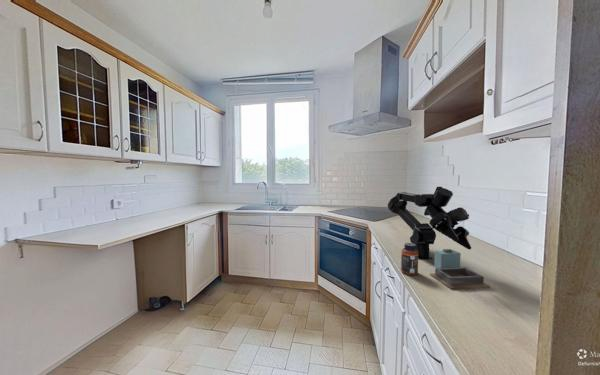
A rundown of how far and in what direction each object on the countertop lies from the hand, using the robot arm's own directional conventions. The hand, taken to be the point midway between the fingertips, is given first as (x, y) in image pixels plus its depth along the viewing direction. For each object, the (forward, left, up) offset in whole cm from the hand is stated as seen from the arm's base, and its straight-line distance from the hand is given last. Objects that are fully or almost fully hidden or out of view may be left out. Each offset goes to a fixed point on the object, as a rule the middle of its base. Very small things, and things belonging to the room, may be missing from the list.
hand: (464, 245), depth 85 cm
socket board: (+1, -3, -13) cm, 13 cm away
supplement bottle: (-7, -16, -13) cm, 22 cm away
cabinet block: (-9, +1, -13) cm, 16 cm away
